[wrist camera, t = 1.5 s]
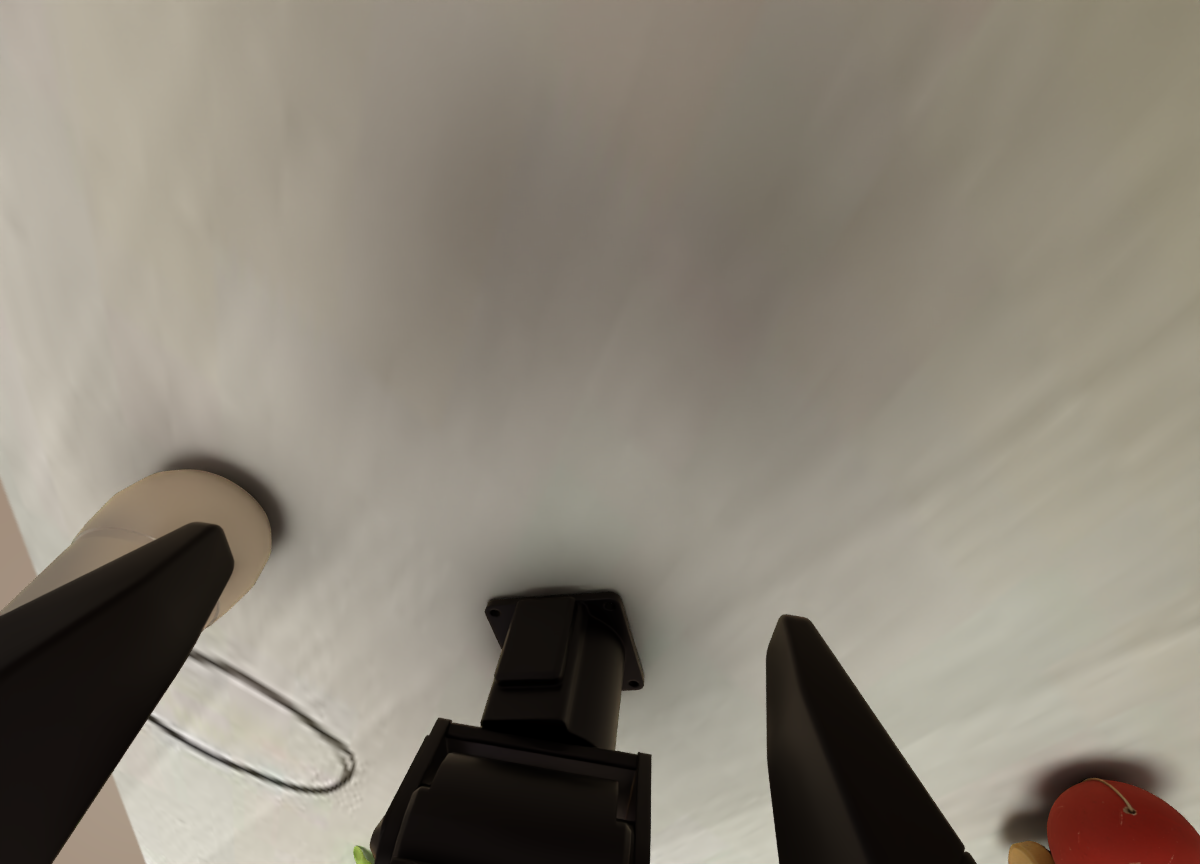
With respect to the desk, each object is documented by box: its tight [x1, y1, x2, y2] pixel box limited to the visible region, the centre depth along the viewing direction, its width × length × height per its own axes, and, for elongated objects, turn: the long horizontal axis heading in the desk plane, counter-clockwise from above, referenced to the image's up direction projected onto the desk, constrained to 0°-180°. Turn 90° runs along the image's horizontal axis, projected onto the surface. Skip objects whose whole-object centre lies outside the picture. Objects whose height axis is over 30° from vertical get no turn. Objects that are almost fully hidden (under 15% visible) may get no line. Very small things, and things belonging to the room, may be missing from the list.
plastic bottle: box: [0, 469, 272, 631], centre depth 20 cm, size 6×7×20 cm
